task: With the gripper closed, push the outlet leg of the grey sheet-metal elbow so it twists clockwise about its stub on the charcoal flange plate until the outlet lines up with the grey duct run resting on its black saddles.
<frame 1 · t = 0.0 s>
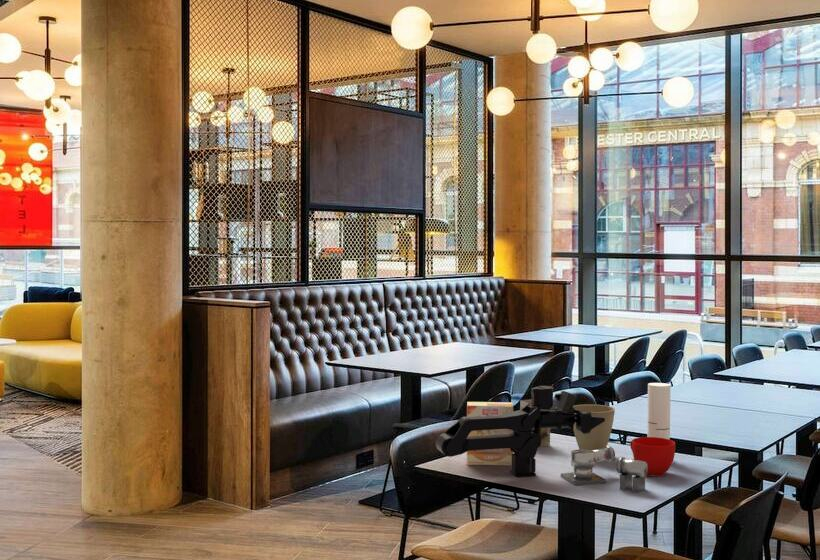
hand: (597, 416, 278), 17 cm above the table, tool horizontal, fingers open, 9 cm apart
coffee box: (535, 446, 311), on the table
flange plate: (583, 479, 266), on the table
elbow: (592, 456, 268), point 6 cm above the table, hinge at 75.0°
red bowl: (649, 472, 275), on the table
cylindrical container: (658, 460, 290), on the table
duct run: (632, 489, 256), on the table
plant pot: (591, 455, 297), on the table
coffeecake box: (489, 463, 287), on the table
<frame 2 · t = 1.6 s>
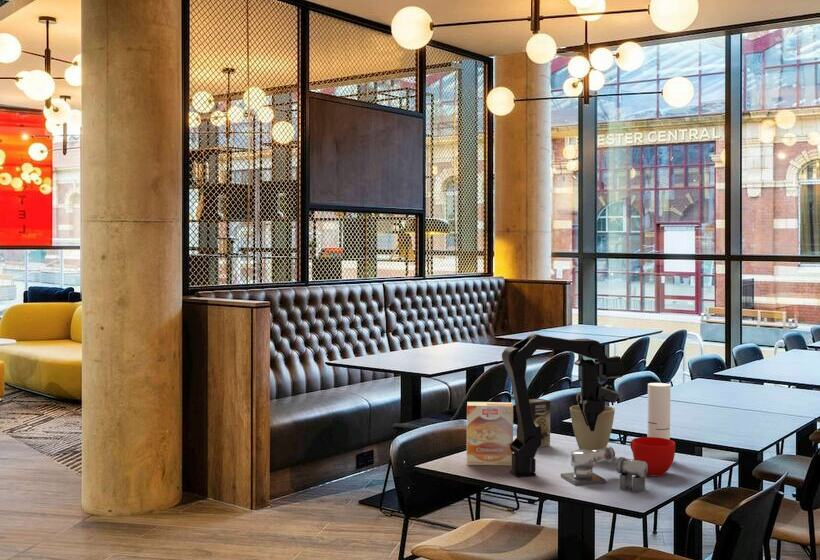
hand: (590, 428, 277), 13 cm above the table, tool pointing down, fingers open, 8 cm apart
nothing on the table moved.
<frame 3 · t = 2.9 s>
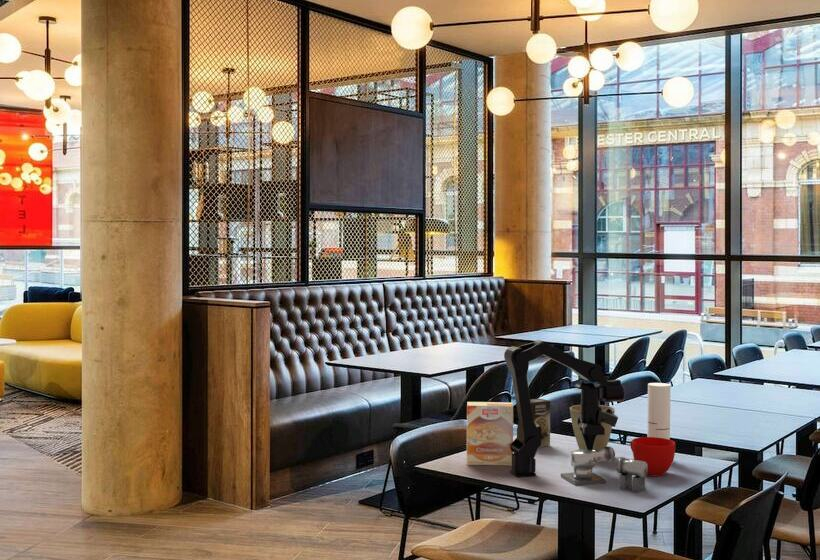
hand: (589, 451, 277), 6 cm above the table, tool pointing down, fingers closed
nothing on the table moved.
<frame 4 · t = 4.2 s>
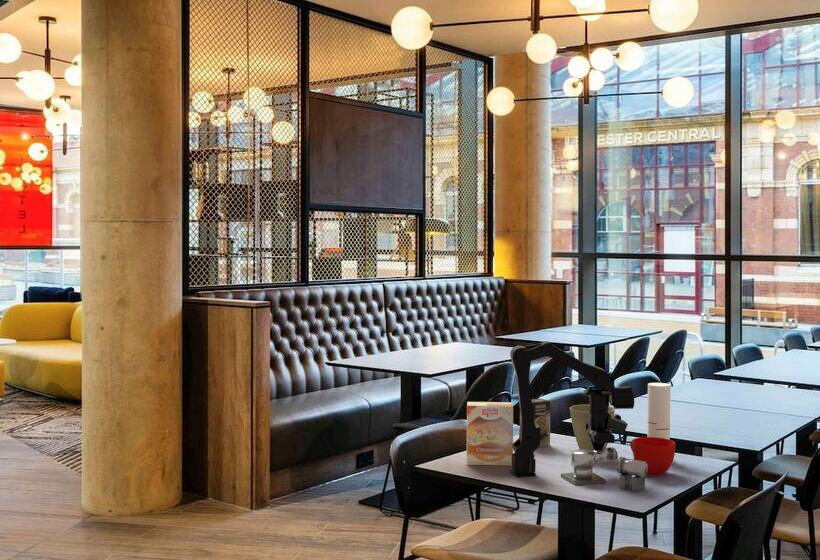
hand: (598, 458, 273), 5 cm above the table, tool pointing down, fingers closed
elbow: (593, 457, 268), point 6 cm above the table, hinge at 68.7°, touching gripper
everything else where it was.
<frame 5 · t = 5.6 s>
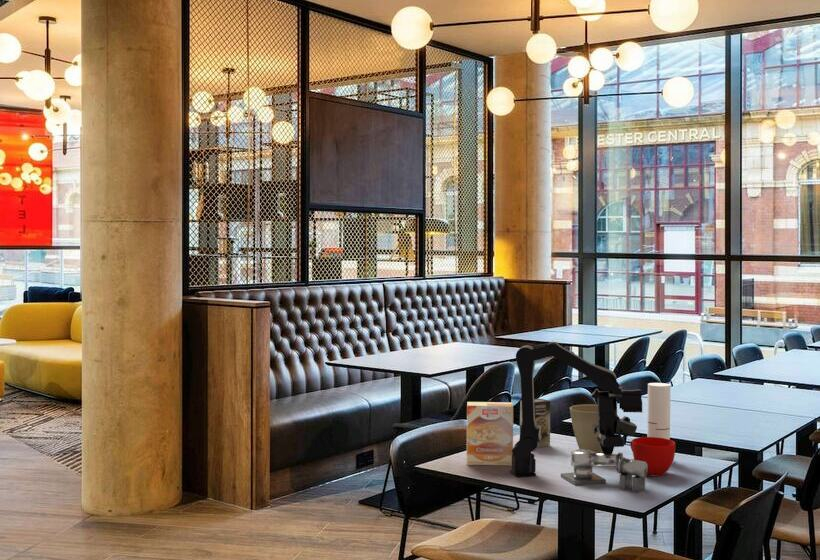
hand: (608, 462, 267), 5 cm above the table, tool pointing down, fingers closed
elbow: (596, 459, 265), point 6 cm above the table, hinge at 30.3°, touching gripper
everything else where it was.
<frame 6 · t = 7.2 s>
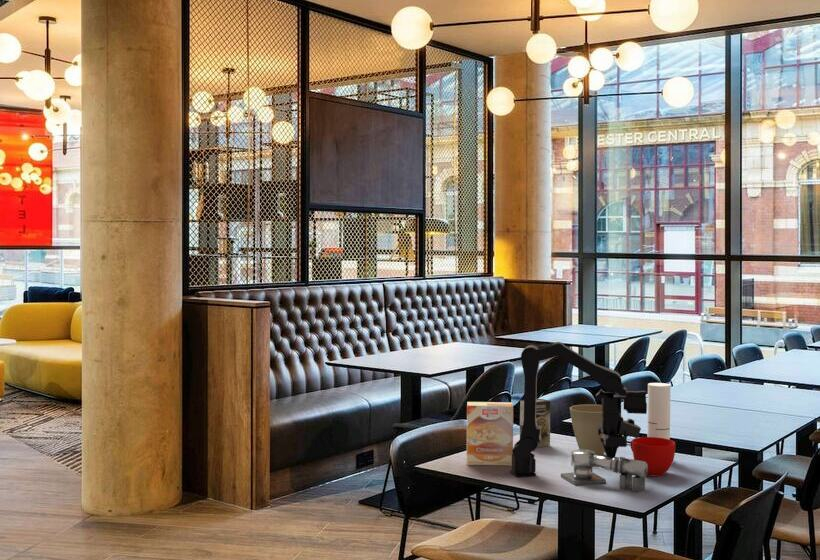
hand: (611, 463, 267), 5 cm above the table, tool pointing down, fingers closed
elbow: (594, 460, 263), point 6 cm above the table, hinge at -2.0°
everything else where it was.
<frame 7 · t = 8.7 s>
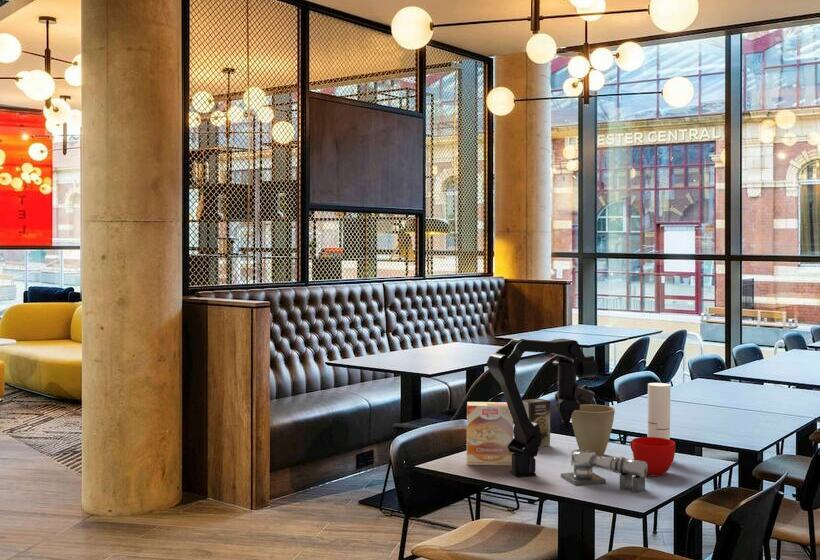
hand: (566, 427, 280), 13 cm above the table, tool pointing down, fingers closed
nothing on the table moved.
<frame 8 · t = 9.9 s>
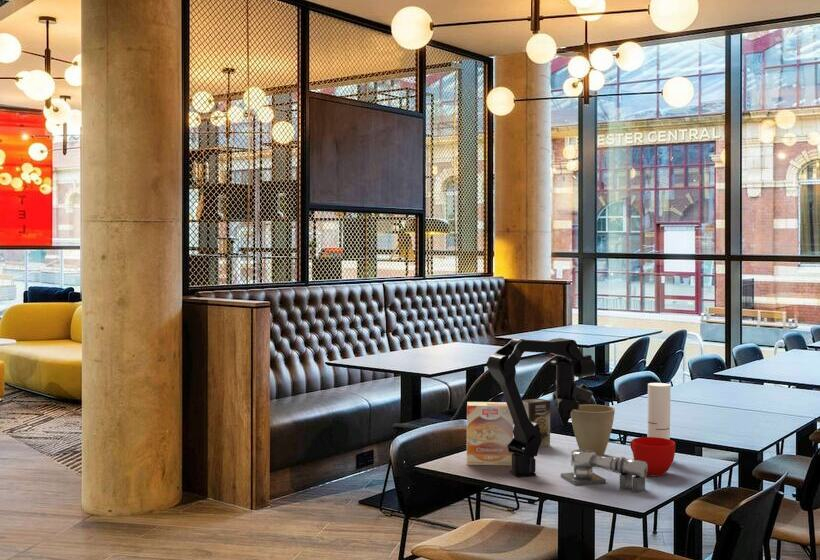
hand: (565, 426, 280), 13 cm above the table, tool pointing down, fingers closed
nothing on the table moved.
at the end: elbow at -2° (first picture: +75°) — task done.
